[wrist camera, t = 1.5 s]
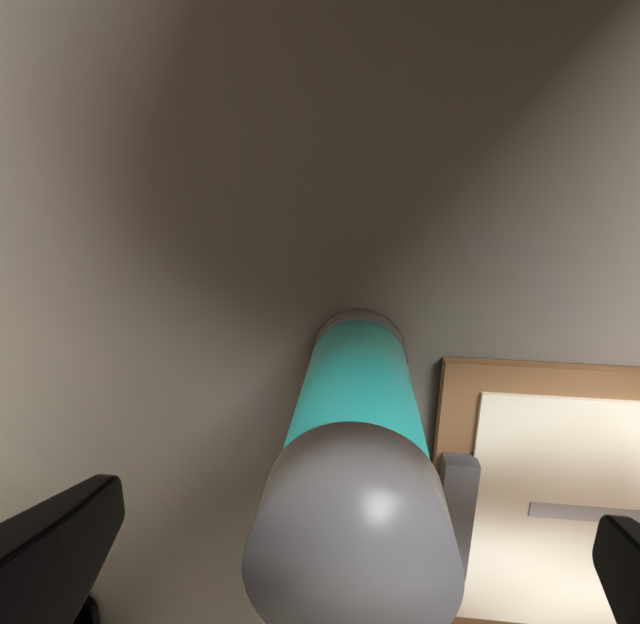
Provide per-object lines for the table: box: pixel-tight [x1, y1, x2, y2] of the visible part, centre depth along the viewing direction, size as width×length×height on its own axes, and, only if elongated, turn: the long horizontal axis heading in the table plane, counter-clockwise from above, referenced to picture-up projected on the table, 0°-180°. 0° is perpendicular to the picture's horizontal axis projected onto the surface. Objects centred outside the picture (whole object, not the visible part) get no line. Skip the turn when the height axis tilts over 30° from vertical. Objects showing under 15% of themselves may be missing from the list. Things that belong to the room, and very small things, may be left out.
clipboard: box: [432, 357, 640, 624], centre depth 16 cm, size 12×14×1 cm
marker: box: [242, 309, 465, 624], centre depth 11 cm, size 3×3×10 cm
